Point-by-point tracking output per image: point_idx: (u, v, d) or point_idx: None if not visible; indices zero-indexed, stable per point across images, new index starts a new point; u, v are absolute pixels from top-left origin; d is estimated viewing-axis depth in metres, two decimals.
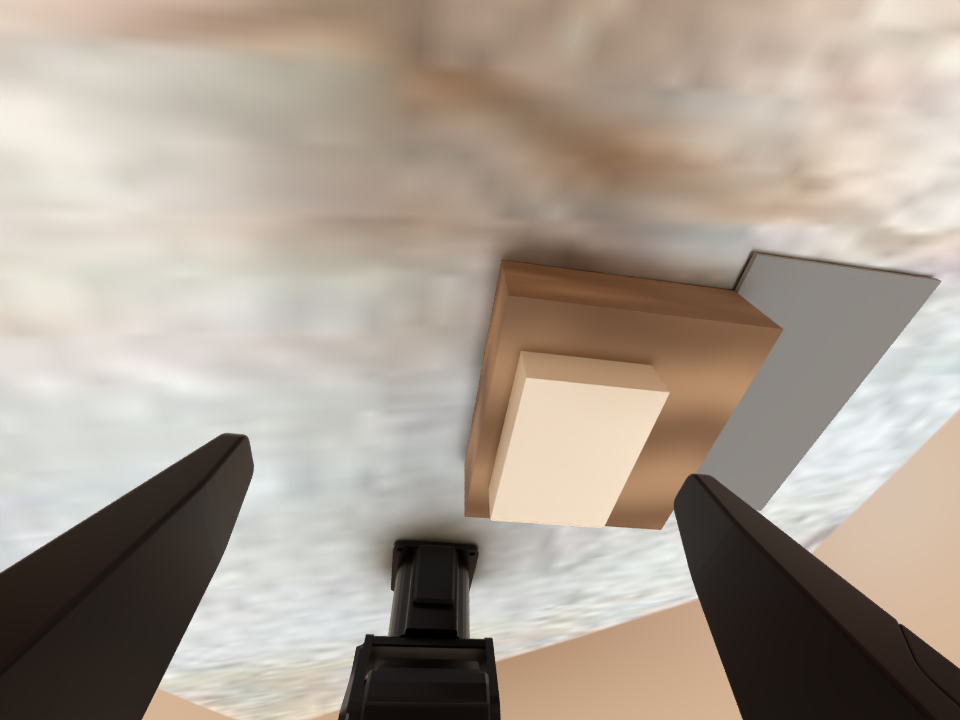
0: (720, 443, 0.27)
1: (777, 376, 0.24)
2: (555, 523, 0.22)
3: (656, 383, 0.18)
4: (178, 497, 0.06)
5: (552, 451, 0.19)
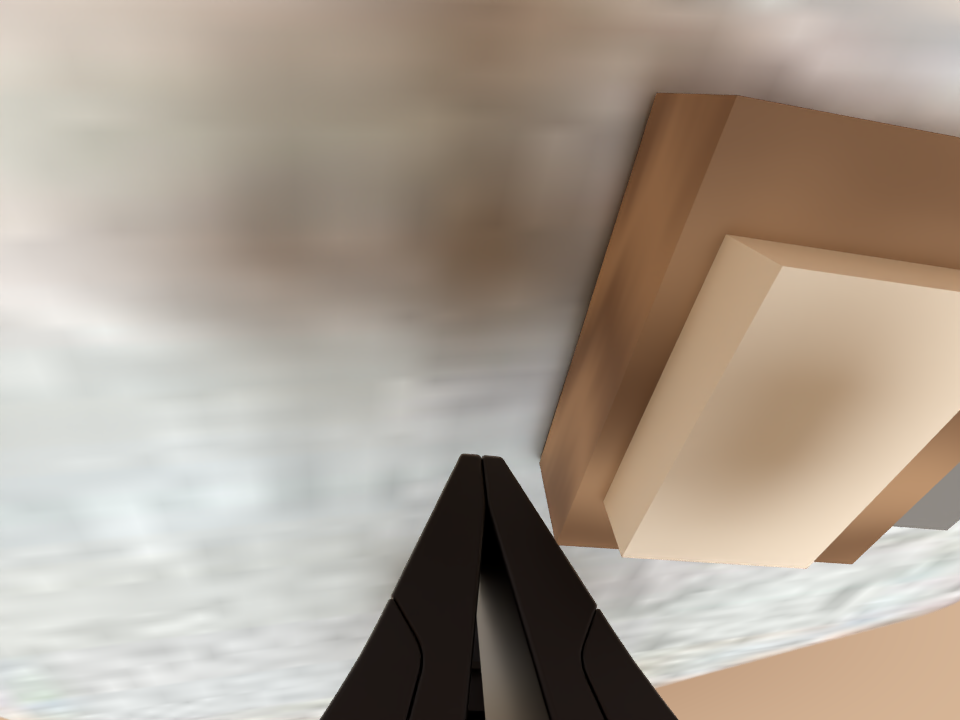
0: None
1: None
2: (730, 561, 0.13)
3: None
4: (476, 518, 0.07)
5: (773, 433, 0.10)
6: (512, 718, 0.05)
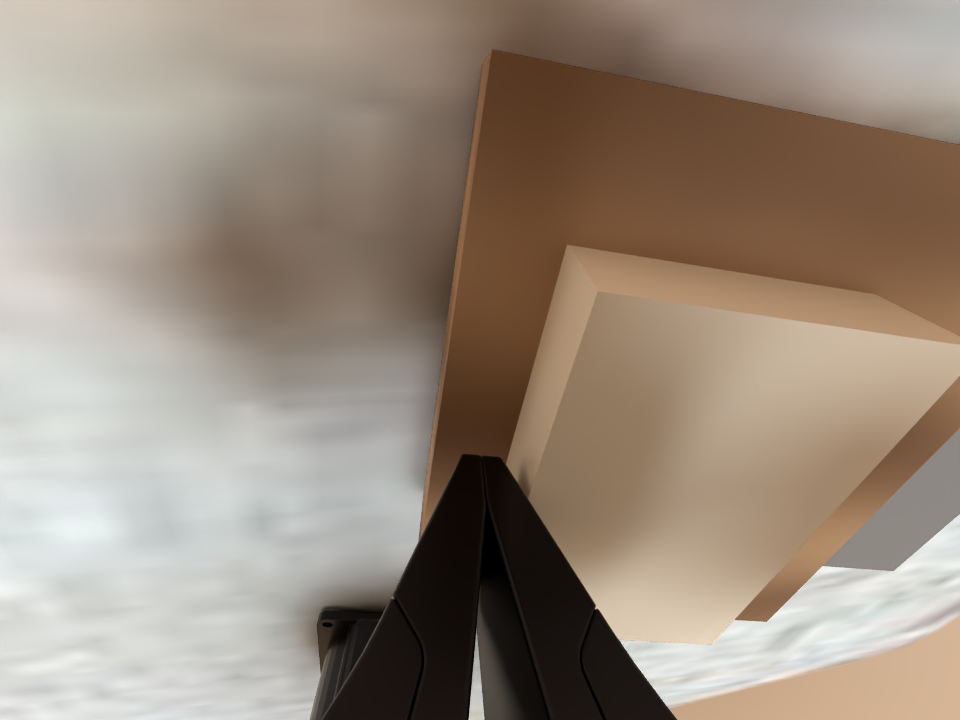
0: None
1: None
2: (617, 637, 0.11)
3: (929, 327, 0.07)
4: (477, 518, 0.07)
5: (635, 498, 0.08)
6: (511, 718, 0.05)
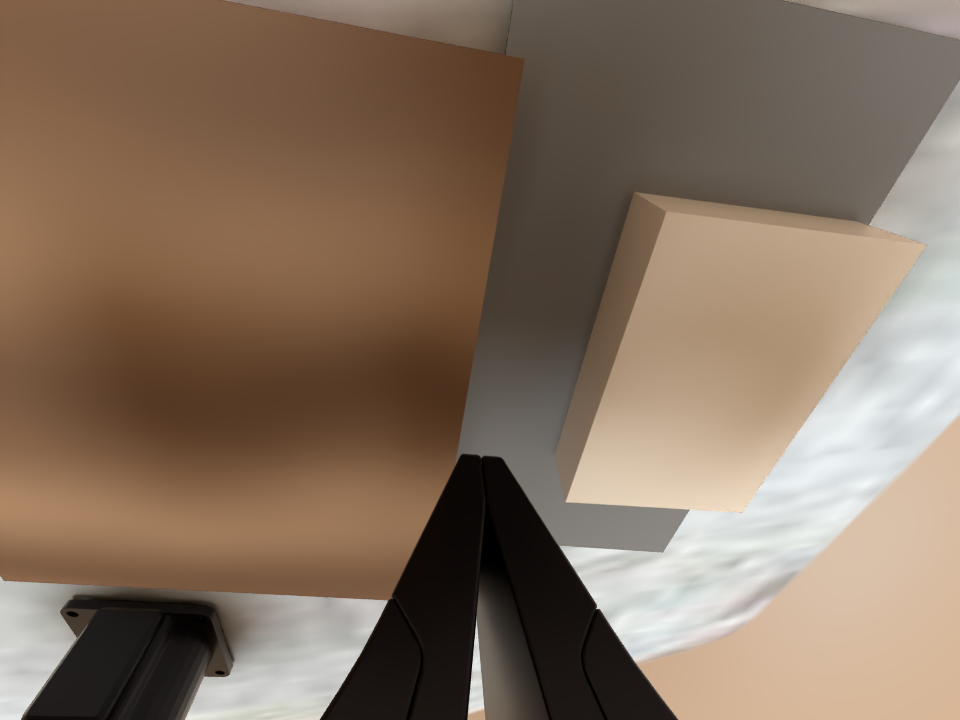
0: None
1: None
2: None
3: (656, 198, 0.10)
4: (476, 518, 0.07)
5: None
6: (512, 718, 0.05)
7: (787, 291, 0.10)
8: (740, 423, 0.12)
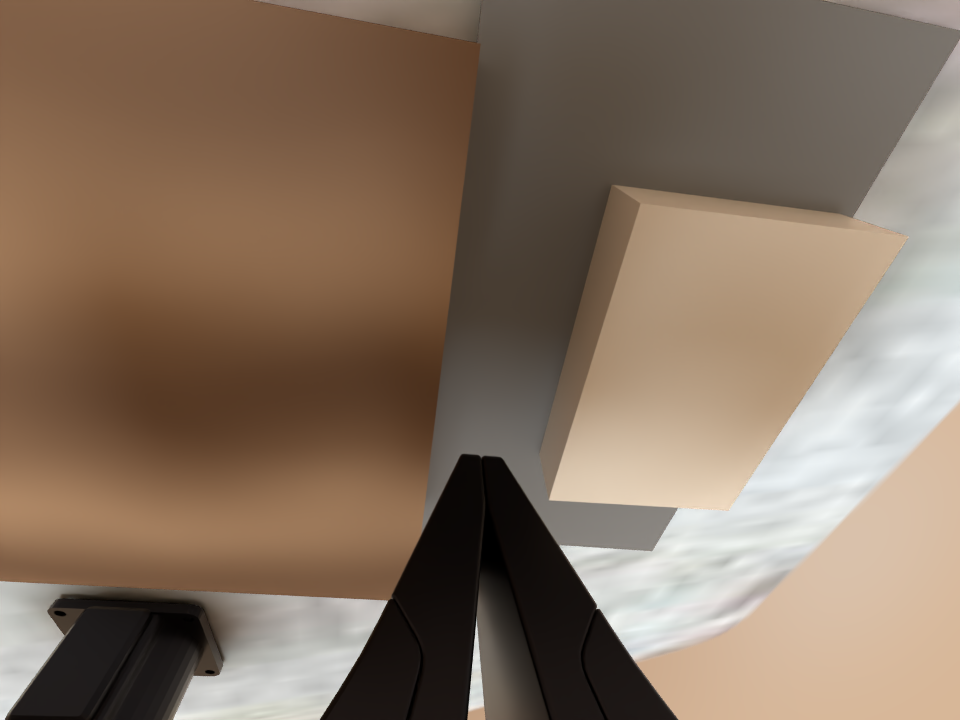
0: None
1: None
2: None
3: (633, 190, 0.10)
4: (476, 518, 0.07)
5: None
6: (512, 718, 0.05)
7: (767, 285, 0.10)
8: (723, 420, 0.12)
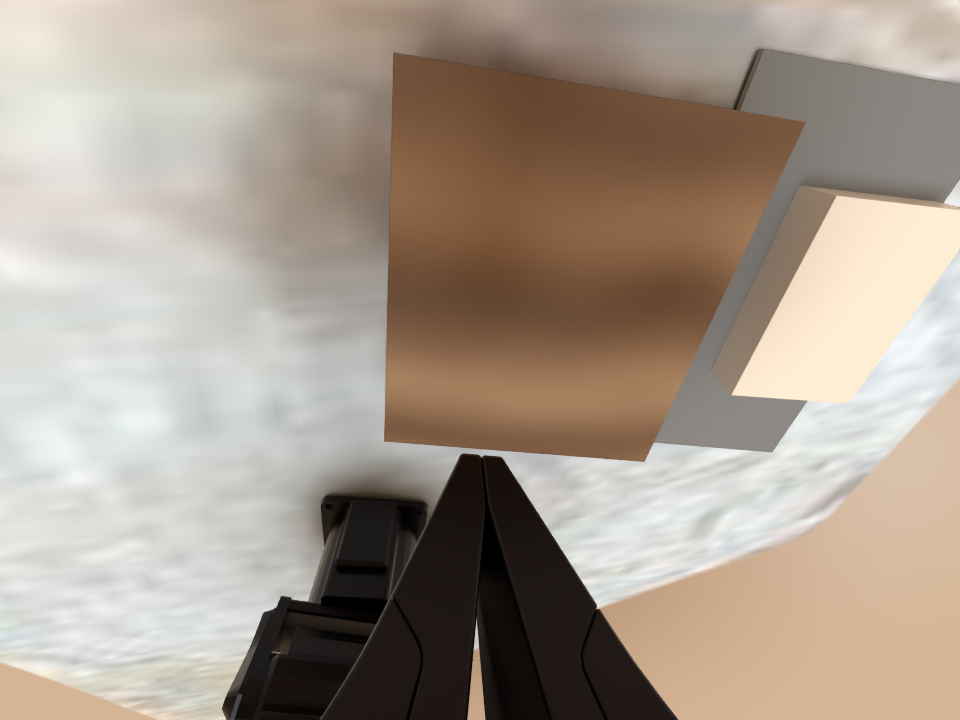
0: None
1: None
2: None
3: (817, 188, 0.17)
4: (476, 518, 0.07)
5: None
6: (512, 718, 0.05)
7: (899, 243, 0.16)
8: (857, 334, 0.19)
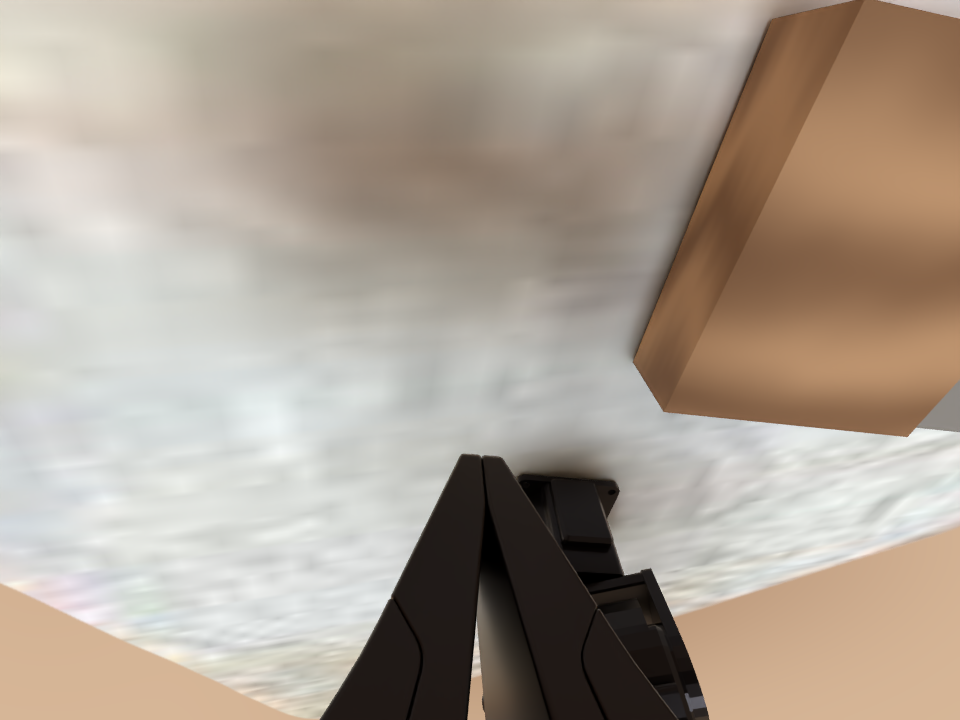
0: None
1: None
2: None
3: None
4: (477, 518, 0.07)
5: None
6: (512, 718, 0.05)
7: None
8: None
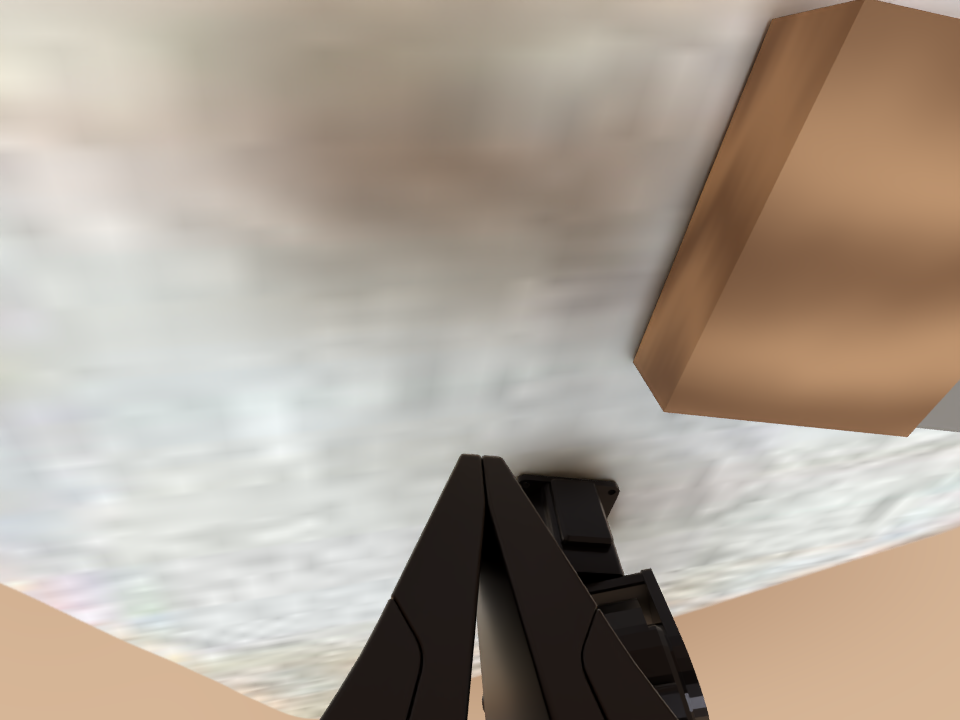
0: None
1: None
2: None
3: None
4: (476, 518, 0.07)
5: None
6: (512, 718, 0.05)
7: None
8: None
